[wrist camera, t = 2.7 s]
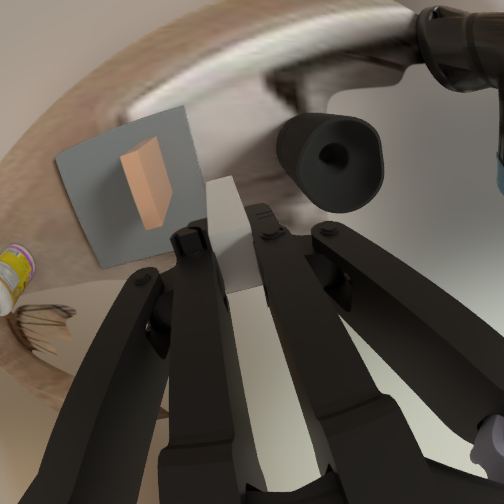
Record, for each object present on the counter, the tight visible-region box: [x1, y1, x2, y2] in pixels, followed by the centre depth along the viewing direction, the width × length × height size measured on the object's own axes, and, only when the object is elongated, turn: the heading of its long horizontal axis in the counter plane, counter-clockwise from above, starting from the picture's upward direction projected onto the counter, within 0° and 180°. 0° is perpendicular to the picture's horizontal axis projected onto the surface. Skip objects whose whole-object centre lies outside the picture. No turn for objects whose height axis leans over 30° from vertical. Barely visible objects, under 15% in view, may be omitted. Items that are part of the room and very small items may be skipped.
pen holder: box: [277, 113, 384, 213], centre depth 27 cm, size 9×9×10 cm
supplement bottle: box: [0, 244, 35, 316], centre depth 27 cm, size 7×7×13 cm
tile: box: [120, 136, 173, 230], centre depth 25 cm, size 2×7×9 cm, turn 11°
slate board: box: [55, 105, 207, 269], centre depth 31 cm, size 17×17×1 cm
